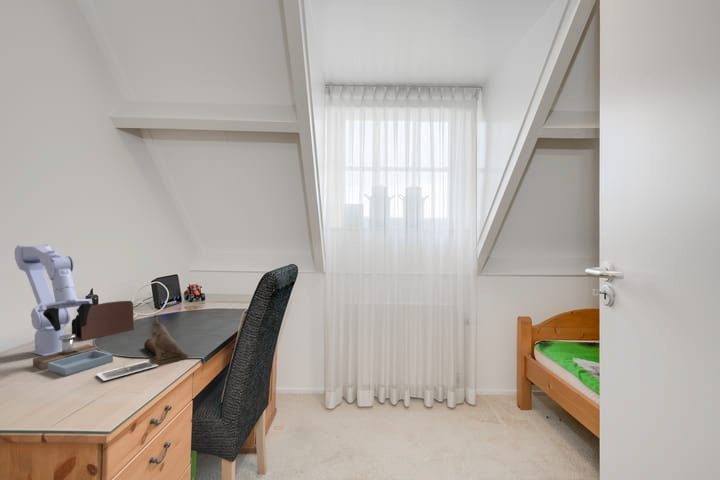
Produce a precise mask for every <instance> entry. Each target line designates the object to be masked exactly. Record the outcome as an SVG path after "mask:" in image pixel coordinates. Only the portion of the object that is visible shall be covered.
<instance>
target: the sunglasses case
mask: <svg viewBox="0 0 720 480" xmlns="http://www.w3.org/2000/svg"><path fill="white" fill-rule="evenodd" d="M152 342H153V337H151V338H148V339H146V340H145V342H144V343H143V344H144V346H143V347H144V348H145V349H148V350H149V351H151V352H152V353H154V355H156V350H155V348H154V346H153V344H152Z"/></svg>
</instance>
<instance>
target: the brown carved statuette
mask: <svg viewBox="0 0 720 480" xmlns="http://www.w3.org/2000/svg"><path fill="white" fill-rule="evenodd" d="M153 322H154V323H153V324H152V325H151V330H150V333H151V336H152V337H151V338H153V342H152V344H153V346H154V348H155V350H156V354H155V356H153V357H150V358H149V359H148V360H149V362H150V363H151V364H157V365H163V364H168V363H174V362H179V361H183V360H187V359H188V358H189V353H188V351H187V350H186V349H185V348H183V347H182V346H181V345H180V344H179V343H178V342H177V340H175V338H173V337H172V335H170V333H169V331H168V330H167V328H166V327H165V326H164V325H163V323H161V322H159V320H158V316H157V314H154V316H153Z"/></svg>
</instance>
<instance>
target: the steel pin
mask: <svg viewBox="0 0 720 480" xmlns="http://www.w3.org/2000/svg"><path fill="white" fill-rule="evenodd" d="M74 339H75V334H72V333H70V334H68V333H67V334H65V335H62V336H60V337H59V340H62V356H65V355H68V354H72V353H73V348H74Z"/></svg>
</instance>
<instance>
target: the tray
mask: <svg viewBox="0 0 720 480" xmlns="http://www.w3.org/2000/svg"><path fill="white" fill-rule="evenodd" d="M113 362H114V354H113V353H109V352H105V351H101V350H100V351H98V350H93V351H89V352H85V353H82V354H78V355H74V356H71V357H67V358H64V359H60V360H56V361H53V362H49V363H48V369H47V372H51V373H55V374H56V375H60V376H63V377H69V376H72V375H75V374H79V373H82V372H84V370H85V371H87V370H91V369H93V368H97V367H99V366H104V365H106V364H110V363H113Z"/></svg>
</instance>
